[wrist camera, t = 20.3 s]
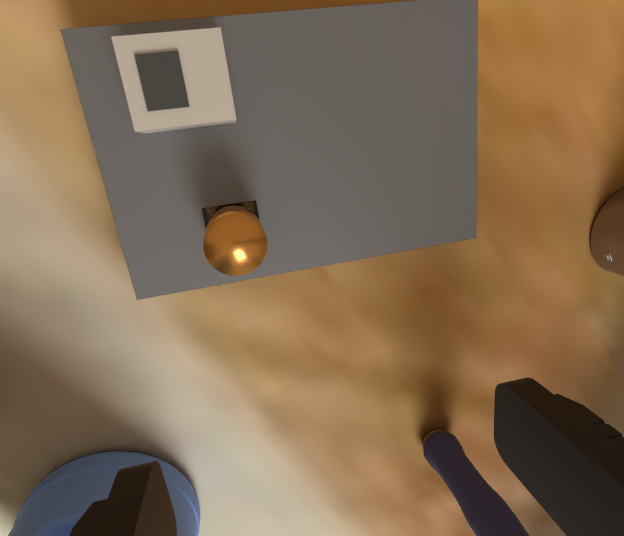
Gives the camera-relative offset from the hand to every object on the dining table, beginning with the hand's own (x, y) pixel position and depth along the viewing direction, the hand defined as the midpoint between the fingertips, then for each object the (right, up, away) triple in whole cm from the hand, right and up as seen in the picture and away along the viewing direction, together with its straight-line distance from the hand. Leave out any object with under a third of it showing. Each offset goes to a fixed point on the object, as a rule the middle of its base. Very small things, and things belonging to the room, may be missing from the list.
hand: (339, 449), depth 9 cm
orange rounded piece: (-7, +8, +24) cm, 26 cm away
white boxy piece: (-9, +16, +17) cm, 25 cm away
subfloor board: (-2, +14, +23) cm, 27 cm away
